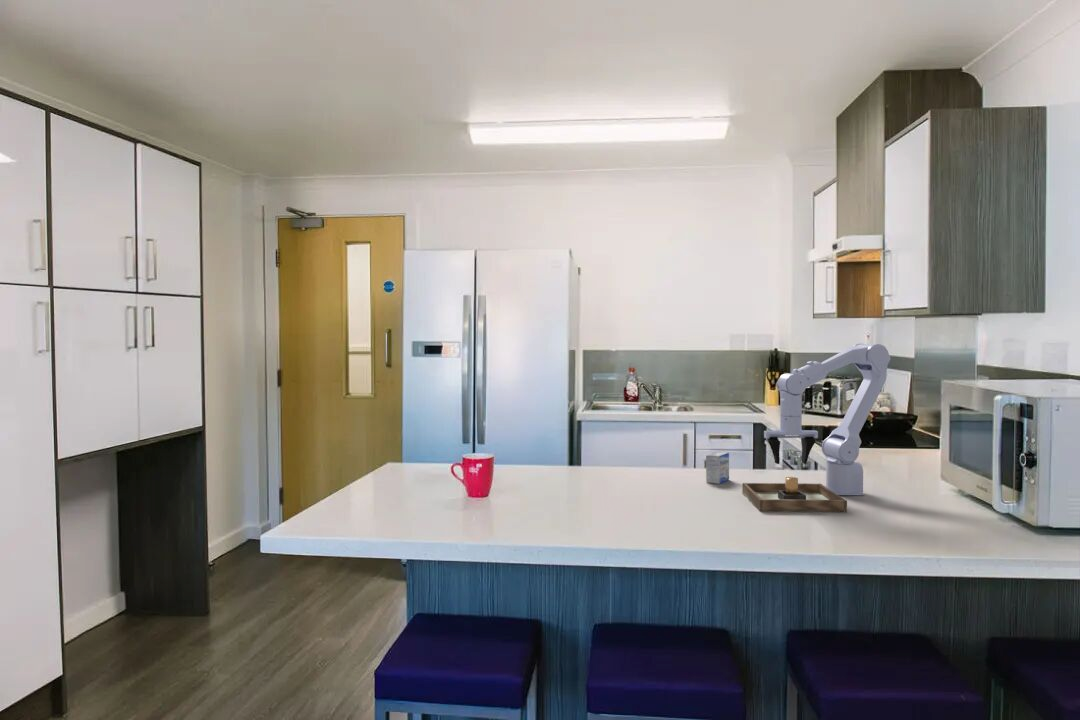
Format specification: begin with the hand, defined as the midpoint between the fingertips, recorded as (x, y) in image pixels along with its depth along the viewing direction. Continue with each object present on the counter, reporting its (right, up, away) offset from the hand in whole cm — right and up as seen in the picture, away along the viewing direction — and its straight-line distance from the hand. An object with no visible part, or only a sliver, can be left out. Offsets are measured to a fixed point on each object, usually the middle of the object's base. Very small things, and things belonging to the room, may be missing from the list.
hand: (790, 463), depth 197 cm
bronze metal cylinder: (-3, -9, -8) cm, 12 cm away
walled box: (-3, -9, -8) cm, 13 cm away
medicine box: (-16, -9, +19) cm, 26 cm away
